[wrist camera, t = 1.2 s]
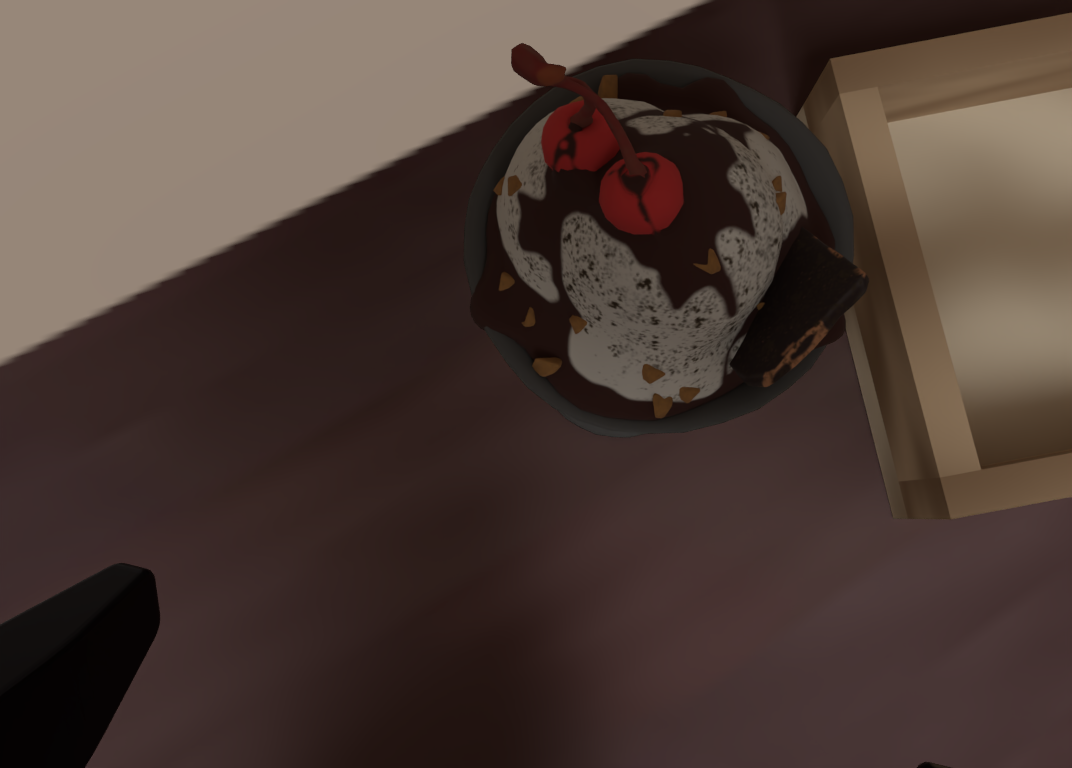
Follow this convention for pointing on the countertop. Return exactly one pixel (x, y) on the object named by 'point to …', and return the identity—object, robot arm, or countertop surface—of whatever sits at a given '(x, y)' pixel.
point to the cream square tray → (960, 260)
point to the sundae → (658, 246)
